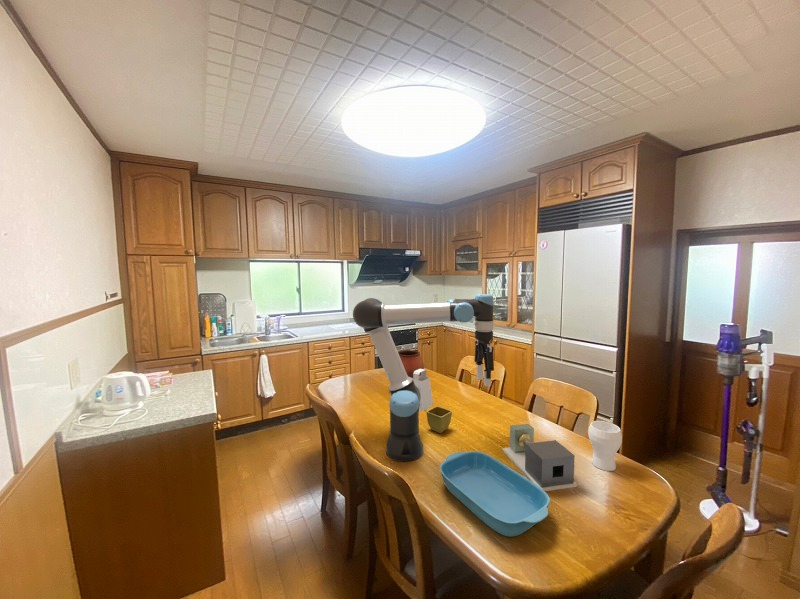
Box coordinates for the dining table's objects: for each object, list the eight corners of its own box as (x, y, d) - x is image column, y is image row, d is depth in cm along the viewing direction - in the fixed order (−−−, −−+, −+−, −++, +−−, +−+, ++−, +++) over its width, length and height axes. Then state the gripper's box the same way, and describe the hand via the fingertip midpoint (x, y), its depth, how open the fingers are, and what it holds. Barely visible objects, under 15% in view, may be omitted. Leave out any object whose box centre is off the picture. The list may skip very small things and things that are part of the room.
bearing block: (524, 469, 118) (525, 443, 117) (554, 466, 120) (555, 440, 119) (541, 487, 108) (542, 459, 107) (573, 483, 110) (574, 455, 109)
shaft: (509, 446, 133) (510, 425, 132) (527, 444, 134) (528, 423, 133) (534, 472, 115) (535, 448, 114) (555, 470, 117) (555, 446, 116)
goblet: (430, 394, 194) (429, 353, 192) (401, 400, 186) (400, 357, 183) (414, 384, 211) (414, 347, 209) (387, 389, 203) (387, 350, 201)
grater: (406, 407, 177) (406, 371, 175) (417, 400, 185) (417, 366, 183) (423, 411, 170) (422, 374, 169) (433, 405, 179) (433, 369, 177)
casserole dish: (565, 524, 94) (566, 500, 94) (514, 560, 82) (515, 534, 82) (474, 461, 125) (474, 444, 125) (427, 482, 114) (427, 462, 113)
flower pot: (452, 429, 151) (452, 410, 150) (441, 436, 144) (441, 417, 144) (437, 423, 157) (437, 405, 156) (425, 430, 150) (425, 411, 150)
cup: (621, 477, 115) (623, 436, 113) (586, 467, 120) (588, 428, 119) (619, 462, 124) (621, 424, 122) (587, 454, 129) (589, 417, 128)
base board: (502, 450, 133) (502, 448, 132) (534, 447, 135) (534, 444, 135) (539, 491, 107) (539, 489, 107) (577, 486, 110) (577, 484, 110)
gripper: (467, 326, 148) (466, 375, 150) (485, 335, 128) (485, 391, 130) (482, 326, 149) (482, 374, 151) (503, 334, 130) (502, 390, 131)
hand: (483, 382), depth 141 cm, fingers open, 7 cm apart
